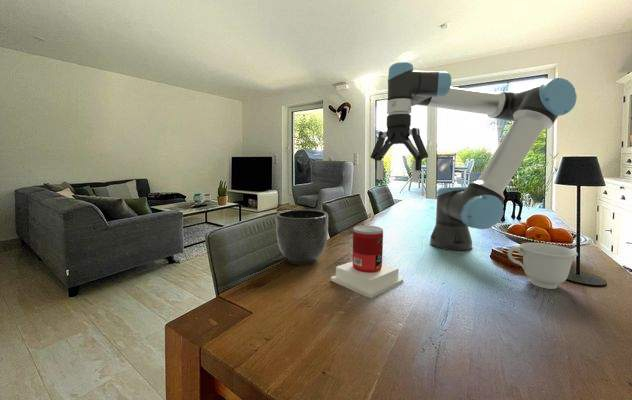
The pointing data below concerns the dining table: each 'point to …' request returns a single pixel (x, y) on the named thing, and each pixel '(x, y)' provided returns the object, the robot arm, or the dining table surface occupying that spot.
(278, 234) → the planter
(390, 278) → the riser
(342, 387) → the dining table surface
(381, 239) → the canned food
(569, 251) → the teacup
